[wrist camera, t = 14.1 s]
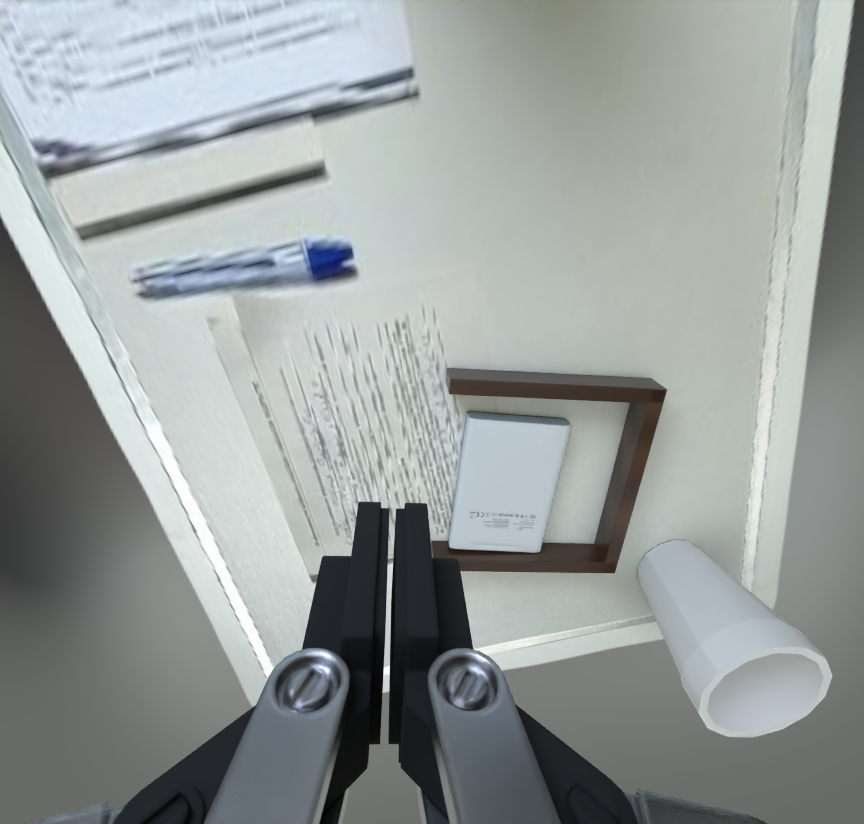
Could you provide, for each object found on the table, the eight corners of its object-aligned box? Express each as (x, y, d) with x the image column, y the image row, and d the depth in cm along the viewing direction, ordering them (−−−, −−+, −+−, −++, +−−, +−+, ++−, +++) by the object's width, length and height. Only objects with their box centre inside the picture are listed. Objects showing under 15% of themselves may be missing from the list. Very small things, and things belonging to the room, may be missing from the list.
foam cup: (684, 612, 48) (777, 746, 37) (604, 593, 47) (674, 726, 35) (737, 539, 45) (859, 660, 33) (653, 515, 43) (749, 634, 31)
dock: (447, 367, 36) (450, 378, 34) (651, 378, 38) (667, 389, 36) (430, 551, 43) (432, 570, 41) (603, 554, 45) (614, 573, 42)
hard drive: (566, 417, 39) (536, 542, 44) (466, 410, 38) (447, 537, 43) (573, 426, 37) (541, 554, 42) (469, 418, 37) (449, 550, 41)
